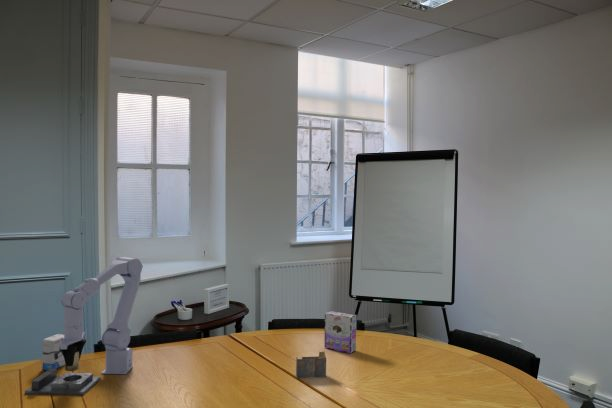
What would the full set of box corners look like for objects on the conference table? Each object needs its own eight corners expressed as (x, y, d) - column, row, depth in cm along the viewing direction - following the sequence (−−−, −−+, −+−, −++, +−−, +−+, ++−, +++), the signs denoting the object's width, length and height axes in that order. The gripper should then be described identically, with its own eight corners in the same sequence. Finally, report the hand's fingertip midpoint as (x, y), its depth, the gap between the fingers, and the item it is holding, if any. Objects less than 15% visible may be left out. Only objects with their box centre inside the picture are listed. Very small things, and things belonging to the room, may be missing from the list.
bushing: (81, 367, 173) (81, 350, 173) (74, 371, 168) (74, 354, 168) (69, 366, 173) (69, 349, 173) (62, 370, 169) (62, 353, 169)
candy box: (356, 350, 217) (357, 314, 217) (350, 354, 212) (351, 317, 212) (330, 345, 225) (330, 310, 224) (323, 348, 220) (324, 312, 219)
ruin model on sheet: (324, 375, 188) (325, 350, 188) (325, 378, 185) (326, 353, 185) (295, 376, 186) (296, 351, 186) (296, 379, 183) (297, 354, 183)
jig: (100, 379, 178) (100, 368, 178) (83, 395, 164) (83, 383, 164) (46, 378, 178) (46, 367, 178) (24, 394, 164) (24, 382, 164)
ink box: (52, 371, 185) (53, 340, 185) (41, 369, 186) (42, 339, 186) (68, 363, 193) (68, 334, 193) (57, 362, 194) (57, 333, 194)
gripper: (71, 319, 178) (71, 356, 178) (51, 330, 163) (50, 370, 163) (91, 320, 178) (90, 356, 178) (72, 331, 163) (71, 370, 163)
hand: (72, 363), depth 171 cm, fingers closed on bushing, 4 cm apart
